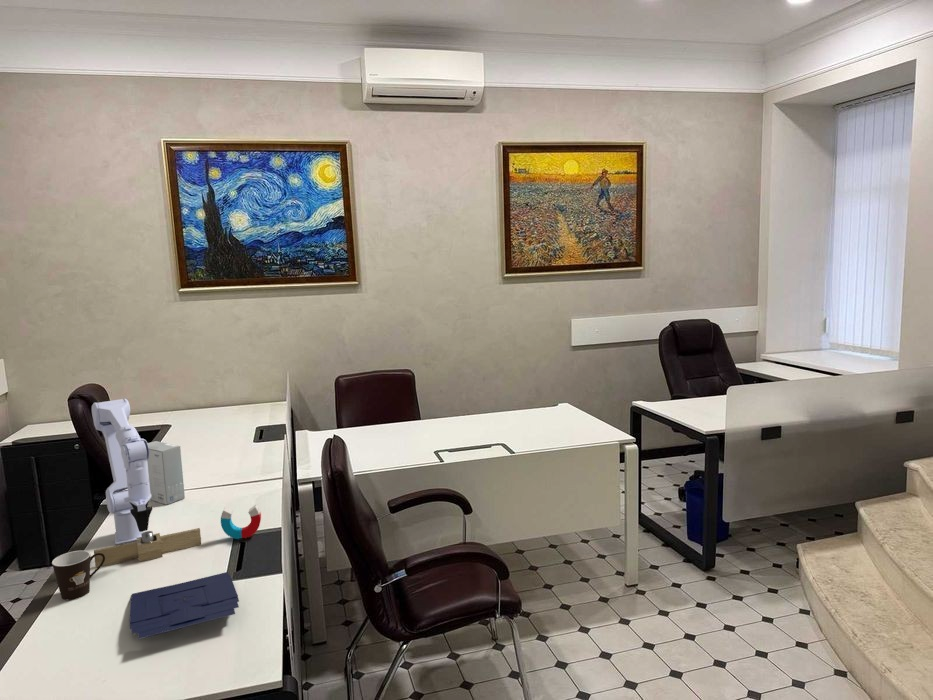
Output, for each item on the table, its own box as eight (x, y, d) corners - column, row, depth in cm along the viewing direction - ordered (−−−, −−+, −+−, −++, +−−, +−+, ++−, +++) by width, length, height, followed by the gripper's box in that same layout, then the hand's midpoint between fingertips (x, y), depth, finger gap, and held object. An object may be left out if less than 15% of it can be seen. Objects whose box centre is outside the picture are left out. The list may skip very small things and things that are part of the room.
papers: (129, 653, 140) (128, 637, 140) (131, 604, 167) (130, 590, 167) (244, 623, 151) (243, 608, 151) (229, 581, 178) (228, 568, 178)
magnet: (222, 541, 197) (219, 510, 196) (223, 537, 200) (221, 507, 198) (261, 537, 200) (259, 507, 198) (262, 533, 202) (260, 503, 201)
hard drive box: (185, 498, 233) (181, 446, 230) (166, 505, 226) (161, 451, 223) (161, 490, 241) (156, 440, 238) (141, 497, 235) (136, 445, 232)
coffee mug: (54, 605, 162) (50, 569, 161) (58, 590, 170) (53, 555, 168) (106, 594, 168) (102, 558, 166) (107, 579, 175) (104, 545, 174)
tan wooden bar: (95, 562, 185) (94, 546, 184) (199, 540, 198) (198, 524, 198) (95, 571, 180) (93, 555, 179) (202, 547, 193) (201, 532, 192)
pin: (154, 552, 191) (152, 530, 190) (155, 556, 188) (153, 533, 187) (143, 554, 189) (140, 532, 188) (144, 558, 187) (142, 536, 186)
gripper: (121, 477, 189) (126, 520, 192) (123, 492, 177) (128, 538, 179) (148, 472, 193) (152, 515, 195) (151, 487, 181) (156, 532, 183)
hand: (142, 525), depth 187 cm, fingers open, 7 cm apart
